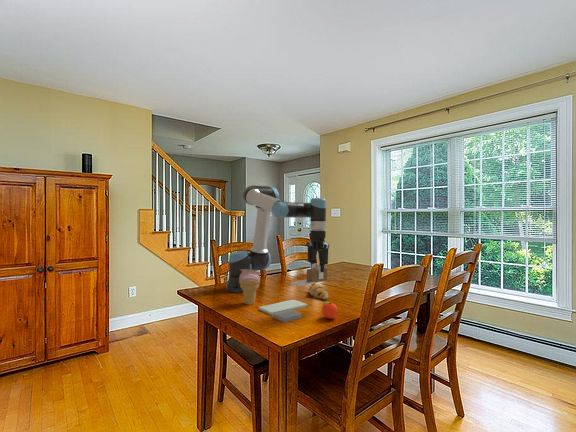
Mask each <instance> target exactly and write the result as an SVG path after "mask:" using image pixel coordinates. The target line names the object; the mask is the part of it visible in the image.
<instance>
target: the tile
mask: <svg viewBox="0 0 576 432" xmlns="http://www.w3.org/2000/svg"><path fill="white" fill-rule="evenodd" d="M272 316H273V317H272V318H273V319H276V320H278V321H280V322H283V323H287V322H290V321H291V322H292V321H294V320H298V318H299V319H302V317H303V313H301V312H298V311H297V310H291V309H290V310H286V311H282V312H278V313H274V314H273V315H272Z"/></svg>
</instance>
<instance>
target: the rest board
mask: <svg viewBox="0 0 576 432" xmlns="http://www.w3.org/2000/svg"><path fill="white" fill-rule="evenodd" d="M306 307H309V306H308V303H305V302H302V301H300V300H296V299H290V300H285V301H280V302H276V303H271V304H267V305H263V306H262V305H261V306H258V310H259V311H260V312H261V311H262V312H263V313H265V314H268V315H270V316H273V314H274V313H278V312H282V311H286V310H290V309H291V310H294V311H297V310H299V309H303V308H306Z"/></svg>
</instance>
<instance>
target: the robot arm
mask: <svg viewBox="0 0 576 432" xmlns="http://www.w3.org/2000/svg"><path fill="white" fill-rule="evenodd" d="M242 200H243V201H244V203H246V204H247V205H249V206H255V209H256V210H257V211H256V220H255V225H254V226H255V228H254V233H253V242H252V243H253V244H252V246H251V248H250V250H249V251H247V250H237V251H234V252H231V253H229V255H228V278H227V281H226V286H225V291H226V292H228V293H234V294H235V293H236V294H238V293H243V290H242V288H241V287H240V286H241V284H240V283H239V277H240V274H241V273H242V271H241V270H239V269H246V270H250V264H251V269H252V270H254V271H257V272H259V271H264V270H267V269H268V268H269V267H270V266H271V263H272V257H271V256H272V255H271V253H270V252H269V249H268V247H267V245H268V239H269V231H270V230H269V229H270V223H271V216H272V214H273V216H274V217H276V218H280V219H281V218H282V219H283V218H310V220H309V221H310V222H309V223H310V225H309V226H310V231H309V233H310V234H309V237H310V238H311V239H310V241H307V242H306V246H307V262H308V263H310V269H312V268H318V279H323V272H324V268H325V265H328V264H329V248H330V244H329V243H326V240H325V239H326V237H327V236H326V233H327V232H326V229H327V227H326V226H327V222H326V221H327V220H326V219H327V201H326V199H325V198H323V197H321V198H320V197H314V198H313V197H312V198H311V199H310V201H309V202H295V201H293V202H290V201H285V200H281V199H280V193H279V191H278V189H277V188H276V187H274V186H269V185H249V186H247V187H246V188H244V189H243V191H242ZM317 255H318V261H319V262H317ZM317 263H318V264H317Z"/></svg>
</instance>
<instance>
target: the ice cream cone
mask: <svg viewBox="0 0 576 432" xmlns="http://www.w3.org/2000/svg"><path fill="white" fill-rule="evenodd" d="M239 270H241V271H242V273H241V274H240V277H239V283H240V284H241V286H240V287H241V288H242V290H243V292H242V293H243V301H244V304H245V305H248V306H249V305H253V304H255V301H256V295H257V293H256V292H257V290H258V289H259V287H260V282H261V278H260V276H261V275H260V273H259V271H254V270H252V269H251V264H250V270H246V269H239Z"/></svg>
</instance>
